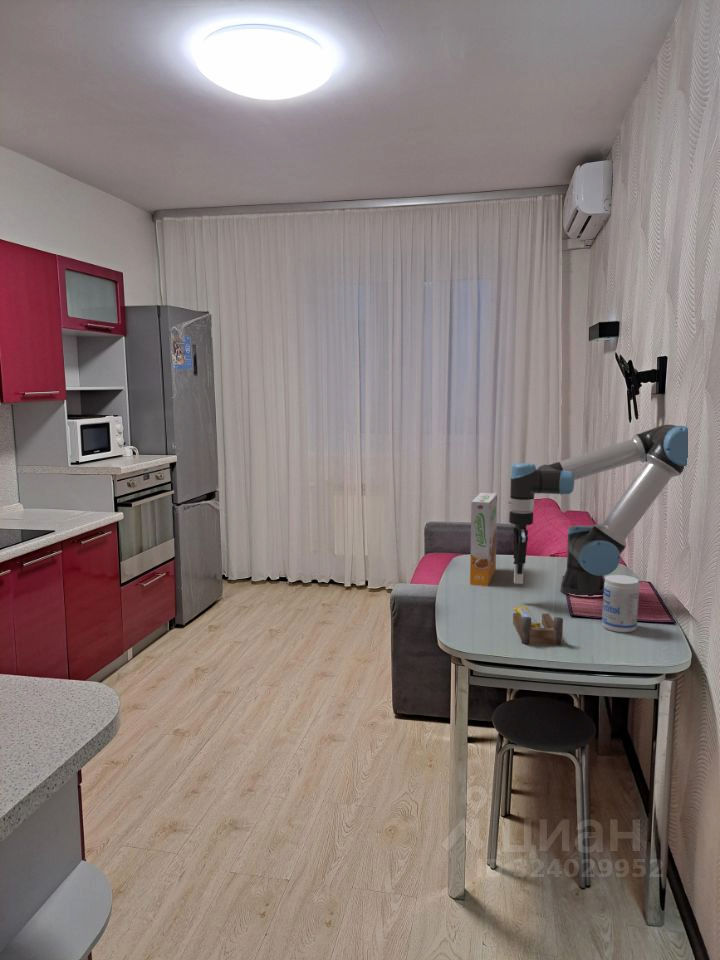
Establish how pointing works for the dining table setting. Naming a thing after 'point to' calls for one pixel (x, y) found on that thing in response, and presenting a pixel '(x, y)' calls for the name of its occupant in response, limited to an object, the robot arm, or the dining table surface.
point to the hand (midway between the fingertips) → (518, 582)
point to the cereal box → (483, 538)
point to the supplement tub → (620, 603)
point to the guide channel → (539, 630)
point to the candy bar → (526, 615)
